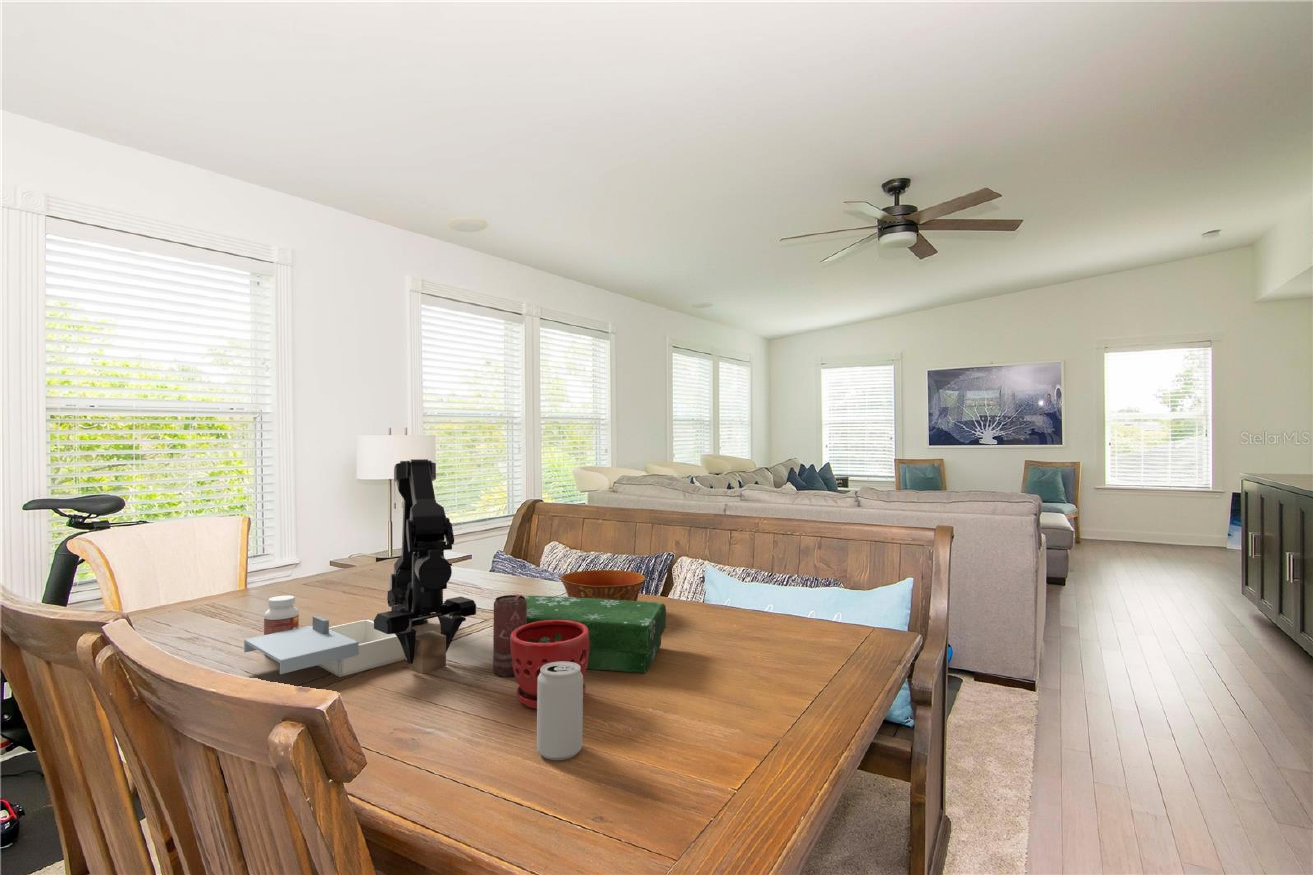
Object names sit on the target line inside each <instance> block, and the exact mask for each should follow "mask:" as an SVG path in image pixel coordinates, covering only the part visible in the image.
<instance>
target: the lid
mask: <svg viewBox="0 0 1313 875" xmlns="http://www.w3.org/2000/svg"><path fill="white" fill-rule="evenodd" d="M329 627H330V620H329V619H327V618H324V617H322V616H320V615H314V616H312V625H308V626H303V627H299V628H297V629H292V630H287V631H283V632H278V633H273V634H268V635H264V634H263V635H259V636H255V637H249V638H245V639H243V641H244V642H243V644H244V645H243V646H244V647H243V649H244V653H249V652H253V651H258V652H259V653H262V654H263V655H265V656H266V657H268V658H270V659H272V660H274V661H276V662H277V663H278V664H279V674H280V675H284V674H288V673H292V672H295V671H298V670H303V669H307V668H311V667H312V668H313V667H314V666H315V667H316V666H318V665H320V664H324V663H328V662H332V661H336V660H340V659H344V658H348V657H352V656H355V655H358V642H357V641H355V640H353V639H351V638H348V637H346V636H344V635H342V634H339V633H337V632H335V631H333V630H330V629H329Z"/></svg>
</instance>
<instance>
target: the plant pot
mask: <svg viewBox="0 0 1313 875" xmlns="http://www.w3.org/2000/svg"><path fill="white" fill-rule="evenodd" d="M557 634H560V635H561V637H562V639H561V641H556V640H555V635H557ZM575 636H576V638H575ZM543 637H547V638H549V639H550V641H551V643H539V641H540V639H541V638H543ZM529 639H532V640H533V643H532V642H528V641H529ZM567 639H569V640H567ZM510 648H511V656H512V665H513V671H514V675H515V676H514V677H515V680H516V682H517V684H518V687H517V688H516V697H517V699H518V700H519V702H521V704H523V705H524V706H526V707H528V708H531V709H535V710H537V687H538V676H539V674H540V673H541V672H540V669H541V667H542V666H543V665H545V664H548V663H551V662H559V661H567V662H573V663H576V664H578V665H580V667H581V670H580V671H581V673H582V674H583V679H584V678H585V675H586V672H587V670H588V669H587V664H588V658H589V631H588V628H587V627H586V626H585V625H583V624H581V623H578V622H574V621H568V620H545V621H538V622H533V623H529V624H526V625H523V626H521V627H518V628H517V629H515V630H514V631H513V632H512V633H511V635H510ZM581 652H582V655H581ZM580 655H581V658H580ZM586 688H587V686H586V684H585V682H584V681H583V696H584V695H585V692H586Z"/></svg>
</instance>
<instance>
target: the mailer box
mask: <svg viewBox="0 0 1313 875" xmlns="http://www.w3.org/2000/svg"><path fill="white" fill-rule="evenodd" d="M329 629H330V630H333V631H335V632H337V633H339V634H342V635H344V636H346V637H348V638H351V639H353V640H355V641H357V642H358V655H355V656H352V657H348V658H344V659H340V660H336V661H332V662H328V663H324V664H320V665H317V667H320V668H322V669H323V670H325V671H327V672H329V673H331V674H333V675H335V676H336V677H338V678H341V677H346V676H349V675H352V674H353V675H354V674H356V673H361V672H363V671H367V670H371V669H374V668H379V667H382V666H386V665H390V664H394V663H397V662H401V661H406V660H407V659H406V656H405V654H404V651H403V648H402V646H401V643H400V641H399V639H398V638H397V636H396V635H395V634H386V633H383V632H381V631H378V630H376V629H374V620H371V619H369V618H368V619H363V620H358V621H353V622H348V623H343V624H338V625H334V626H329Z"/></svg>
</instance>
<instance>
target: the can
mask: <svg viewBox="0 0 1313 875" xmlns="http://www.w3.org/2000/svg"><path fill="white" fill-rule="evenodd" d="M525 598H526V597H525V596H523V595H522V594H509V595H507V594H506V595H501V596H497V597H496V598H495V601H494V602H493V634H492V635H493V642H492V646H493V647H492V648H493V652H492V654H493V655H492V657H493V658H492V669H493V670H492V671H493V672H494V674H495V675H496V676H498V677H501V678H511V677H512V678H513V677H515V675H514V671H513V665H512V656H511V648H510V635H511V633H512V632H513V631H514V630H515V629H517V628H518V627H521V626H523V625H526V624H527V602H526V600H525Z"/></svg>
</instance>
